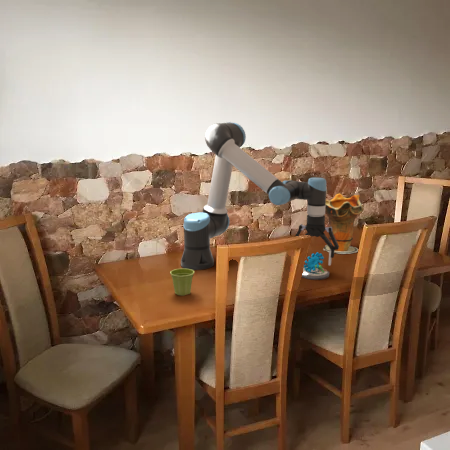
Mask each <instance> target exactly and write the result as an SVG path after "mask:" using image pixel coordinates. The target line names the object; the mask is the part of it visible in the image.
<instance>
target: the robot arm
mask: <svg viewBox="0 0 450 450" xmlns="http://www.w3.org/2000/svg"><path fill="white" fill-rule="evenodd" d="M204 136H205V137H204V140H205V144H206V146H207V147H208V149H209V150H210V151H211V152H212V153H214V154H215V157H214V164H213V167H212V168H213V169H212V175H211V181H210V186H209V191H208V197H207V204H205V205H204V206H203V208H202V212H194V213H193V212H192V213H189V214H187V215H186V216H185V217H184V219H183V225H182V227H183V242H184V243H183V244H184V247H183V248H184V249H183V253H182V256H181V259H180V266H181V268H183V269H191V270H193V271H195V270H196V271H197V270H198V271H199V270H200V271H201V270H206V269H210V268H212V267H213V266H214V265H215V259H214V256H213V253H212V250H211V239H212V238H215V237H218V236H220V235H222V234H224V233H225V232H226V231H227V230H228V229H229V227H230V223H231V222H230V217H229V214H228V212H229V211H228V209H227V207H226V206H227V199H228V194H229V189H230V184H231V178H232V172H233V167H234V168H235V169H236V170H238V171H239V172H241V174H243V175H244V176H245V177H246V178H248V179H249V180H250V181H251V182H252V183H254V185H256V186H257V187H259V188H260V189H261V190H262V191H263V192H265V193H266V194H267V195H268V199H269V201H270V203H272V205H276V206H281V205H282V206H283V205H286V204H287V203H289V202H292V201H294V200H303V201H307V204H306V205H307V206H306V214H307V215H306V225H304V224H303V223H300V224H299V226H298V230H297V231H296V234H295V235H294V237H295V236H298V237H299V236H300V234H301V232H302V231H304V230H306V233H305V234H304V235H308V236H310V237H316V238H319V237H320V238H321V239H322V240H323V241H324V242H325V244H326V245H328V247H329V248H330V250H329V252H328V266H331V265H332V259H333V258H334V257H335V253H334V250H338V248H339V245H338V243H337V241H336V239H335V236H334V234H333V232H332V227H331V226H330V227H329V226H326V225H325V224H326V223H325V222H326V216H325V215H326V213H325V206H326V200H327V191H328V189H327V180H326V178H323V177H315V176H314V177H310V178H308V180H307V181H301V180H300V181H299V180H298V181H296V180H292V179H290V180H286V179H285V180H283V181H281V180H280V179H279V178H278V177H276V176H275V175H274V174H273V173H272V172H271V171H269V170H268V169H267V168H265V166H263V165H262V164H261V163H259V162H258V161H257V160H256V159H255V158H253V157H252V156H250V154H248V153H247V152H245V150H243V149H242V147H243V146H244V144H245V143H246V138H247V137H246V131H245V129H244V128H243V126H241V124H239V123H236V122H231V121H230V122H223V123H220V122H219V123H217V122H216V123H214V124H212V125H210V126H209V127H208V128H207V130H206V131H205V135H204ZM325 231H326V232H327V233H328V235H329V237H331V240H332V242H333V244H334V246H333V245H332V243H331V240H330V239H329V237H327V236H326V234H325V233H324V232H325Z"/></svg>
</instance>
